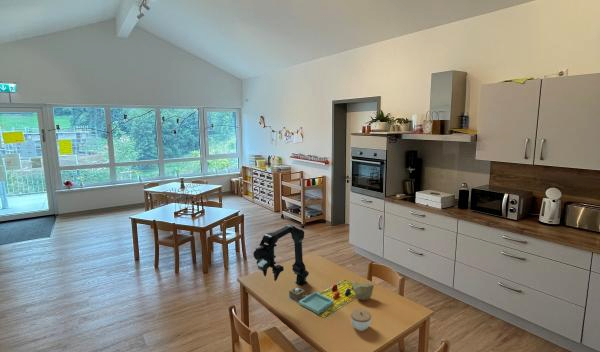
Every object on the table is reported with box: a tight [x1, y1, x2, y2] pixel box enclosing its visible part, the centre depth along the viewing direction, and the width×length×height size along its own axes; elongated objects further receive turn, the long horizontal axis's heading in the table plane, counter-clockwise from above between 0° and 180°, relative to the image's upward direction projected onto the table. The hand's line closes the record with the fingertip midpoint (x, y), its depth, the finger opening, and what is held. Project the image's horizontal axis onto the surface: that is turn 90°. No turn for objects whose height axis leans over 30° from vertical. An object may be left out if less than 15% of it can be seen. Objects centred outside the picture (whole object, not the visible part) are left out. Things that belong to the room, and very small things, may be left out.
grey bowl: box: [350, 281, 374, 301], centre depth 208 cm, size 15×11×12 cm
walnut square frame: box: [288, 286, 306, 301], centre depth 209 cm, size 7×9×4 cm
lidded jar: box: [350, 308, 372, 332], centre depth 179 cm, size 11×11×9 cm
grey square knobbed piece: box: [286, 287, 308, 304], centre depth 210 cm, size 10×10×6 cm
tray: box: [298, 291, 335, 315], centre depth 202 cm, size 15×15×2 cm
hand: (270, 278), depth 204 cm, fingers open, 9 cm apart
